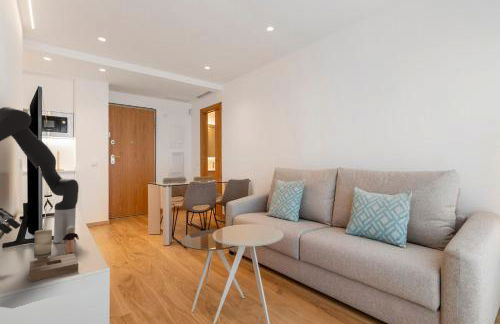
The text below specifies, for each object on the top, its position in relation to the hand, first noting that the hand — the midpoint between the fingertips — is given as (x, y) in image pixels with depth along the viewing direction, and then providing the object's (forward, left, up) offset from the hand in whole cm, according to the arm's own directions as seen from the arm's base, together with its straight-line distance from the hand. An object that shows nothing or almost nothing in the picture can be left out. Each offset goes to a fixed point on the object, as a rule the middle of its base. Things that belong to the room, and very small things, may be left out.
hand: (14, 229), depth 100 cm
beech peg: (+2, +9, -15) cm, 17 cm away
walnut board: (+15, +12, -15) cm, 24 cm away
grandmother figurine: (-3, +19, -15) cm, 24 cm away
